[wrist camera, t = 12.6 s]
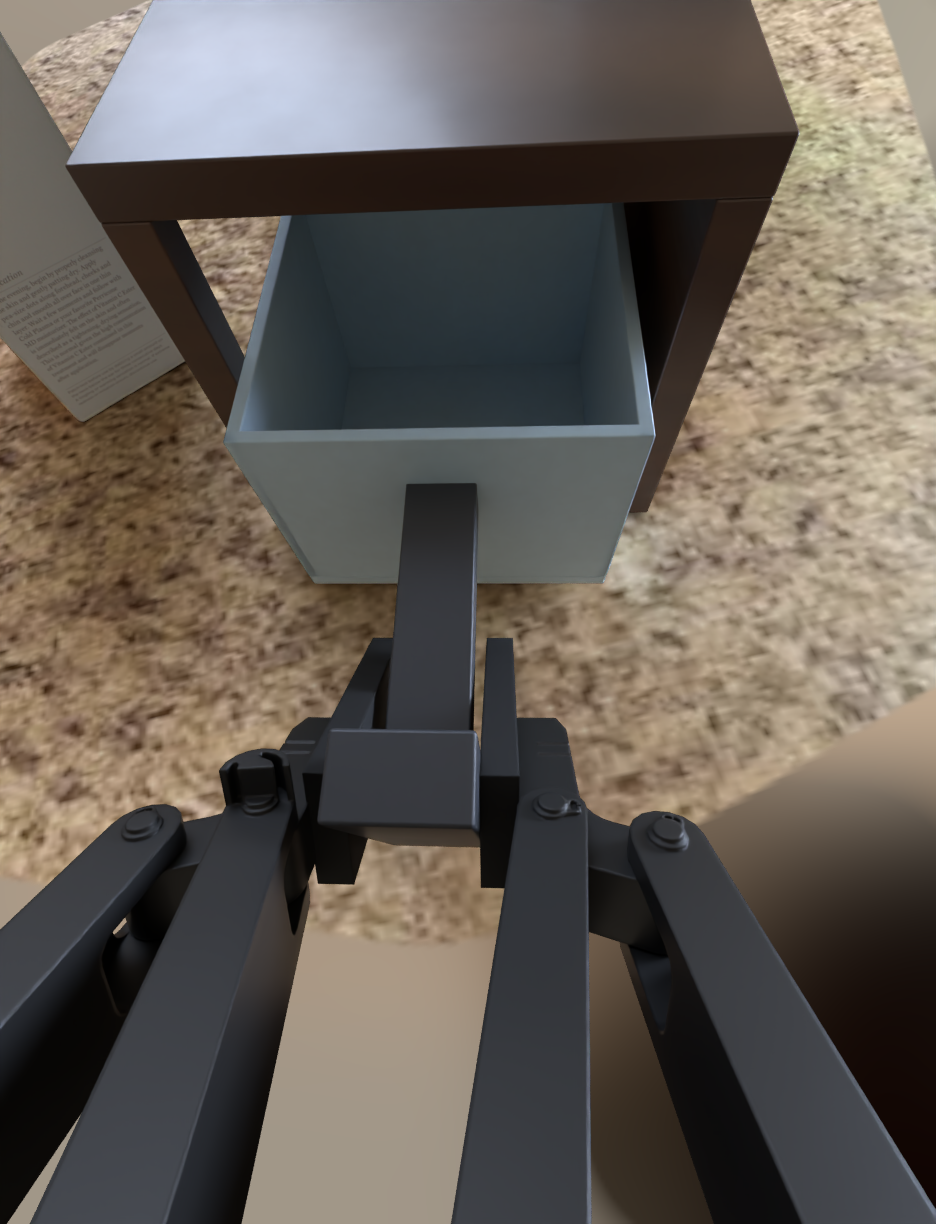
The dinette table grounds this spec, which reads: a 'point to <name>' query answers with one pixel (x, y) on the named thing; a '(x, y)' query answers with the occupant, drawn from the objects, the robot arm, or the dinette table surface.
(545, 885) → the robot arm
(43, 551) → the dinette table surface
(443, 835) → the drawer
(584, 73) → the cabinet
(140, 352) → the small box
